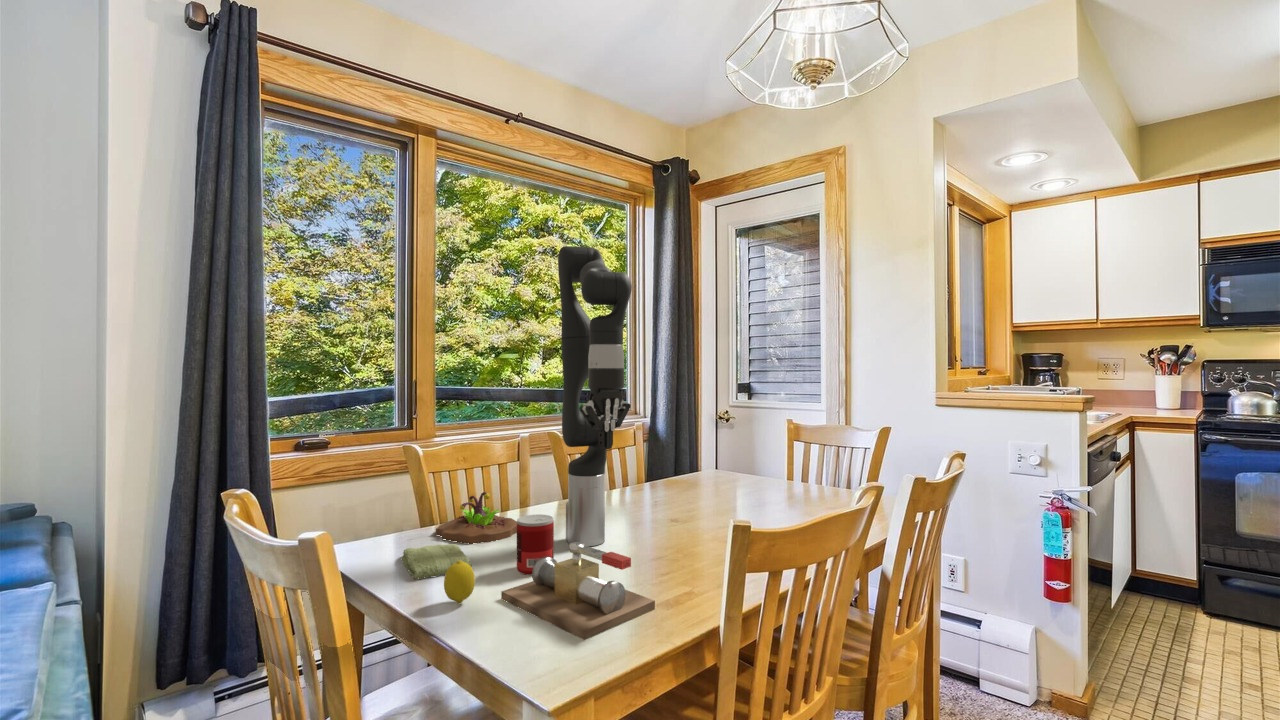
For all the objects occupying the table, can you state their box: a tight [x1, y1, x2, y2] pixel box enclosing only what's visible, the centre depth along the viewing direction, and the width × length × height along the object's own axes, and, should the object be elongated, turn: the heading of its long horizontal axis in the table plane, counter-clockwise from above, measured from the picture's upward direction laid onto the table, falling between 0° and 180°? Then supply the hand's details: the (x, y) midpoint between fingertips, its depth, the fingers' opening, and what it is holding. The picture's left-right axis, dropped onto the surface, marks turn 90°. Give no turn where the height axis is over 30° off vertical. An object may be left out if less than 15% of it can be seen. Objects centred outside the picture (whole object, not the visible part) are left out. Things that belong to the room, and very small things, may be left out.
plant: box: [435, 491, 517, 545], centre depth 157 cm, size 20×20×11 cm
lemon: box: [443, 560, 476, 605], centre depth 110 cm, size 6×6×8 cm
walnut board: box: [500, 580, 656, 641], centre depth 110 cm, size 24×17×2 cm
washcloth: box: [400, 543, 473, 580], centre depth 132 cm, size 13×18×3 cm
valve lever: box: [568, 542, 632, 570], centre depth 106 cm, size 14×3×2 cm, turn 47°
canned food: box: [516, 514, 555, 575], centre depth 129 cm, size 8×8×11 cm
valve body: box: [531, 553, 626, 614], centre depth 110 cm, size 20×6×9 cm, turn 46°
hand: (605, 448), depth 124 cm, fingers closed
